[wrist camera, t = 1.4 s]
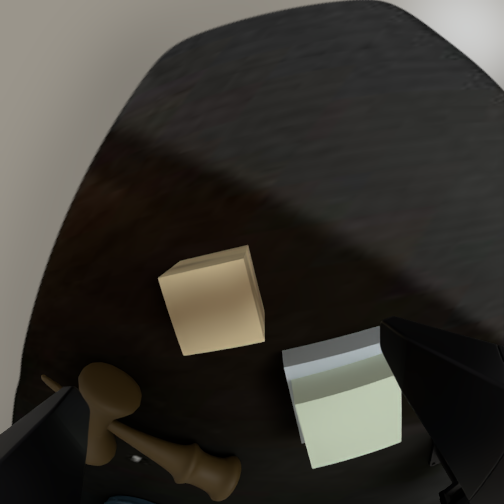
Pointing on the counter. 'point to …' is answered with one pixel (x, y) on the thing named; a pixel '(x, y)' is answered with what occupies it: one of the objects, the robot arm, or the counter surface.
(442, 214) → the counter surface
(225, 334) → the maple cube
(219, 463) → the kendama
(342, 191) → the counter surface
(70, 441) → the robot arm
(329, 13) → the counter surface
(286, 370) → the base block
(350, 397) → the sage block
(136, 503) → the canister
